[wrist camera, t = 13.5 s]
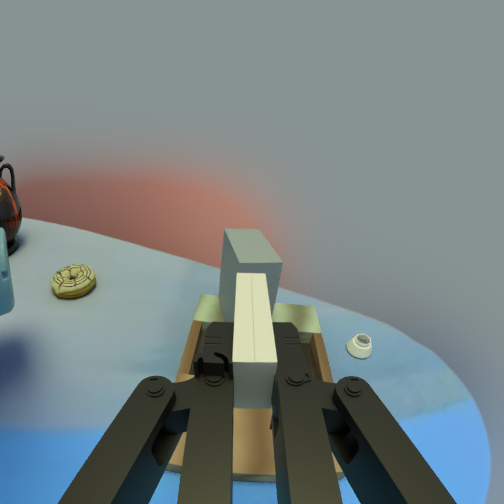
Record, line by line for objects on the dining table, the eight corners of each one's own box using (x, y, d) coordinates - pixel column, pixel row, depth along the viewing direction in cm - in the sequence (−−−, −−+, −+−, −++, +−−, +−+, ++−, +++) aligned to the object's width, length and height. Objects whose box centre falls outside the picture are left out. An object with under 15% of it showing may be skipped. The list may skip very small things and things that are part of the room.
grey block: (230, 341, 43) (239, 263, 37) (218, 298, 54) (224, 228, 48) (267, 338, 45) (282, 262, 39) (249, 296, 55) (258, 229, 49)
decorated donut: (50, 282, 54) (47, 268, 52) (90, 271, 60) (88, 257, 59) (56, 306, 47) (52, 291, 45) (101, 293, 54) (99, 278, 52)
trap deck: (158, 468, 25) (155, 460, 23) (200, 306, 55) (201, 294, 54) (341, 478, 25) (351, 470, 24) (310, 318, 56) (314, 306, 55)
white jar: (365, 363, 45) (373, 348, 49) (371, 352, 44) (379, 337, 48) (341, 352, 48) (351, 338, 51) (346, 340, 46) (356, 326, 50)
